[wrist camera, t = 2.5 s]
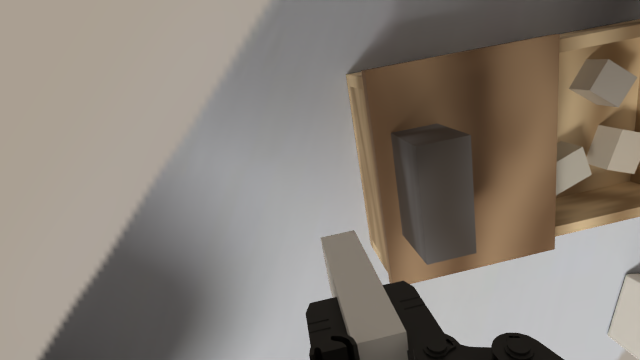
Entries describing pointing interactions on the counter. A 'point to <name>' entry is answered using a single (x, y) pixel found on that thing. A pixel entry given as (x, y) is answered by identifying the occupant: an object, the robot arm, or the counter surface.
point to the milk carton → (628, 316)
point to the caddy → (573, 127)
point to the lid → (465, 156)
